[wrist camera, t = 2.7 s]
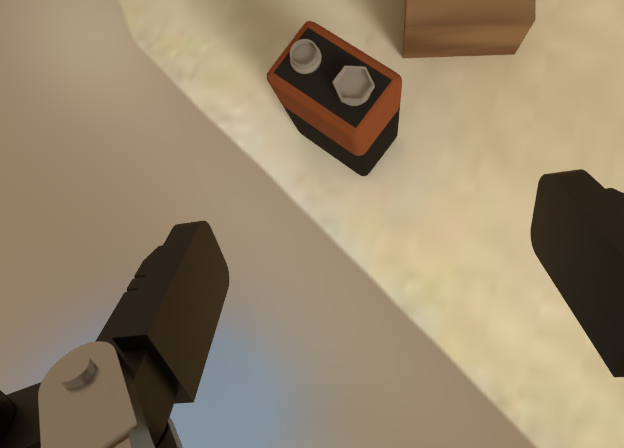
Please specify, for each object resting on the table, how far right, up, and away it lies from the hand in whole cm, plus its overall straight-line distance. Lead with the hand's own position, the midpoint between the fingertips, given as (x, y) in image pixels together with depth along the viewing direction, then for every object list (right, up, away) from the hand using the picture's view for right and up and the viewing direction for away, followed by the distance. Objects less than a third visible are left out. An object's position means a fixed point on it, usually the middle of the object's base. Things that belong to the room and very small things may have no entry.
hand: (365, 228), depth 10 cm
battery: (+1, +7, +21) cm, 22 cm away
